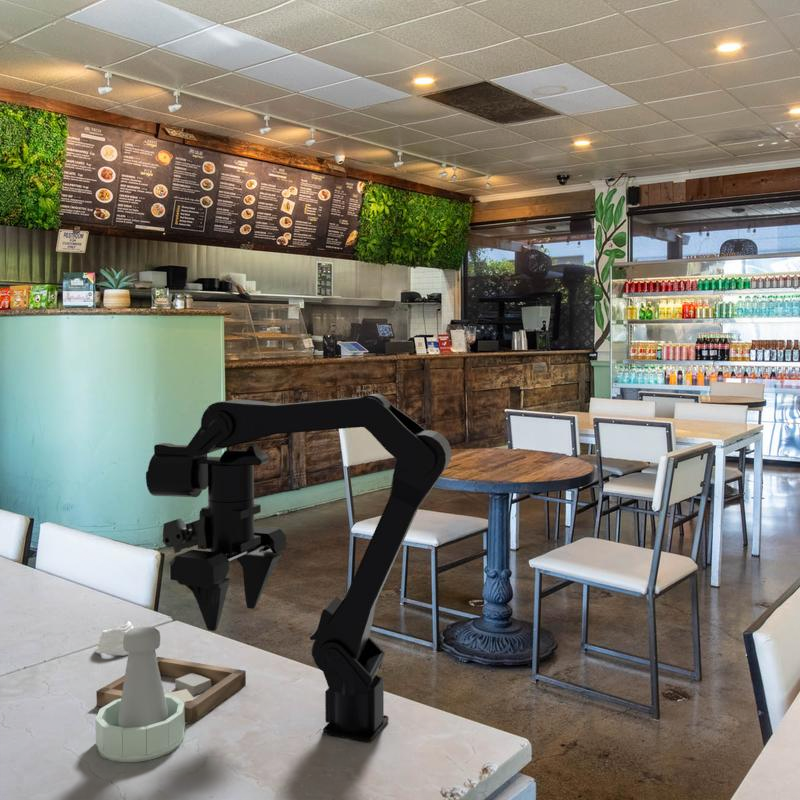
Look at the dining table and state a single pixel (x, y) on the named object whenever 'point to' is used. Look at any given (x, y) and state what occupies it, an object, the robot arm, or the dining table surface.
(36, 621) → the dining table surface
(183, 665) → the tray
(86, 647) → the dining table surface
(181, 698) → the beige rectangular block
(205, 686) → the off-white rectangular block
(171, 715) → the bowl
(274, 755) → the dining table surface
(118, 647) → the whipped cream
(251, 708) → the dining table surface
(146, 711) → the salt shaker
